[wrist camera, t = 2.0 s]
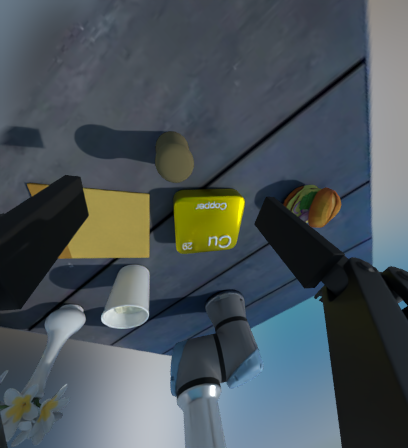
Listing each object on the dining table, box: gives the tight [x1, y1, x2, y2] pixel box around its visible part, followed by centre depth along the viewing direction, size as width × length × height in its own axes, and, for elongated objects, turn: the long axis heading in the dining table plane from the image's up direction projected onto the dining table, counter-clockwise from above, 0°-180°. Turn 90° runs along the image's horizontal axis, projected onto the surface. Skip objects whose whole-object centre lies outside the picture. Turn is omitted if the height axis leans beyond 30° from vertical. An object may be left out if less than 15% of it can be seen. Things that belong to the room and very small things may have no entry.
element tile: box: [173, 189, 245, 254], centre depth 37 cm, size 15×15×5 cm
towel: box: [27, 183, 149, 258], centre depth 35 cm, size 18×20×1 cm
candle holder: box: [101, 264, 150, 329], centre depth 41 cm, size 10×10×12 cm
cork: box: [155, 131, 194, 183], centre depth 25 cm, size 6×6×11 cm
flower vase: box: [0, 304, 86, 447], centre depth 38 cm, size 13×18×25 cm
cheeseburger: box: [283, 185, 341, 228], centre depth 39 cm, size 10×11×10 cm
